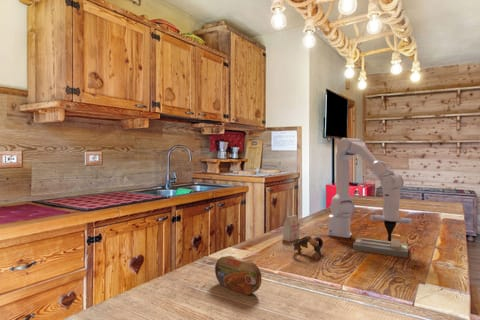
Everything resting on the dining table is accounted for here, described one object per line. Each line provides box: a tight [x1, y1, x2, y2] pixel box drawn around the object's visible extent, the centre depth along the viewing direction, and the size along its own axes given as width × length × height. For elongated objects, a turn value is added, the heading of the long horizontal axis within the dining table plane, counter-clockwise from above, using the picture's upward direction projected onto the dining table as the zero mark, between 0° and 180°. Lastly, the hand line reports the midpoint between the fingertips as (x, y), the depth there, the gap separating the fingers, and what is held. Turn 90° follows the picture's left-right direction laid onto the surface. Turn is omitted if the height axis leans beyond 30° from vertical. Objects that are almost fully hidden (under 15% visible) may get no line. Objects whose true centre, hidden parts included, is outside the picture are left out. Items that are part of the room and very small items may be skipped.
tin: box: [214, 255, 262, 296], centre depth 90 cm, size 15×3×8 cm, turn 50°
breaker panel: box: [352, 236, 409, 259], centre depth 128 cm, size 19×12×3 cm, turn 64°
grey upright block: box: [282, 214, 301, 242], centre depth 140 cm, size 4×7×10 cm, turn 135°
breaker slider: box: [390, 233, 401, 247], centre depth 126 cm, size 3×4×4 cm
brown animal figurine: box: [292, 234, 324, 261], centre depth 120 cm, size 12×10×8 cm
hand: (389, 240), depth 127 cm, fingers closed
